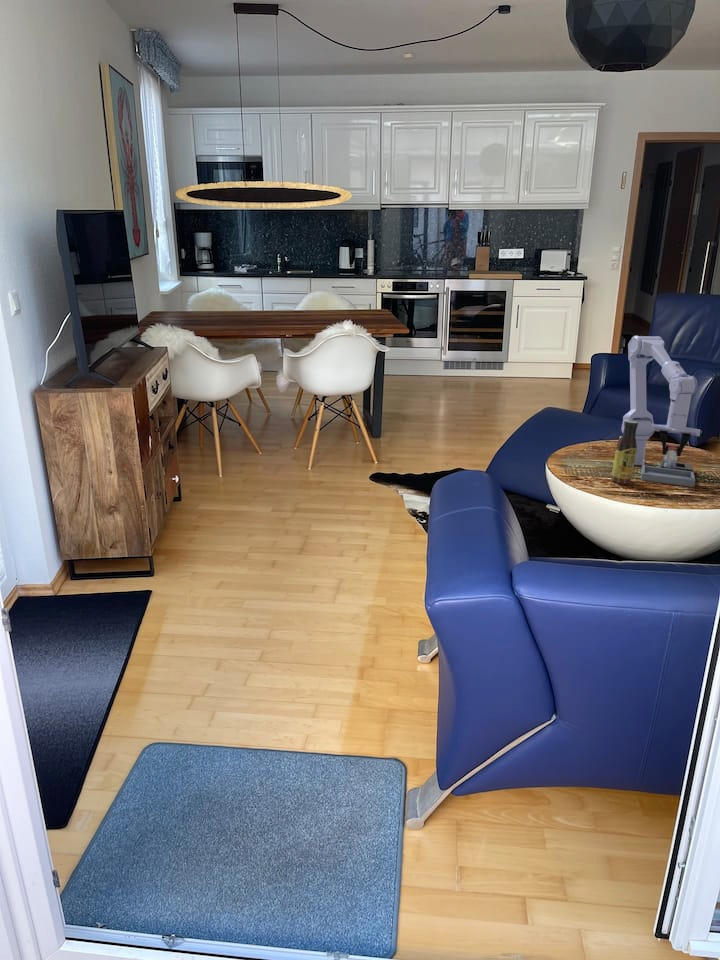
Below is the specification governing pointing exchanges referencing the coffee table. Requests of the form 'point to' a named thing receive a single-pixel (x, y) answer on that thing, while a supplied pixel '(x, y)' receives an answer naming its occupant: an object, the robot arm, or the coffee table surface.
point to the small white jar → (671, 456)
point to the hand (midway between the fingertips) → (671, 454)
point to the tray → (668, 476)
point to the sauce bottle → (625, 454)
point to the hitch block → (680, 466)
